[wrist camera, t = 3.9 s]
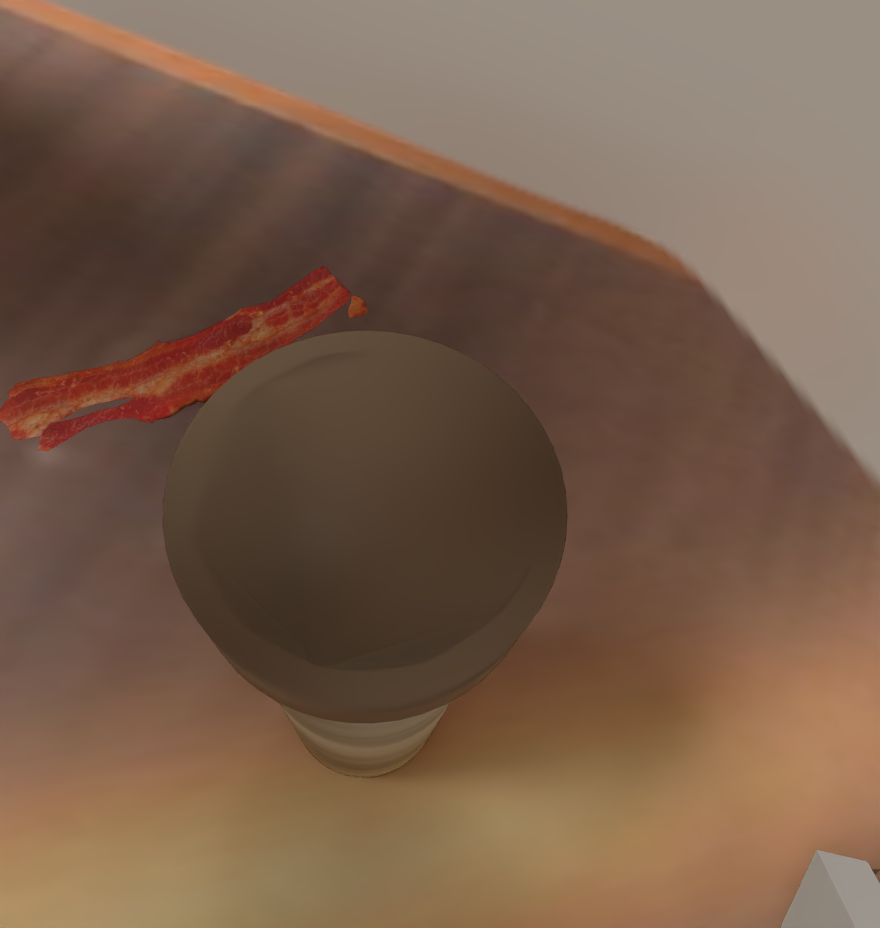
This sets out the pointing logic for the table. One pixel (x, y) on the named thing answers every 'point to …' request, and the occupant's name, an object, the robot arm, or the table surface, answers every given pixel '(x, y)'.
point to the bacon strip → (173, 366)
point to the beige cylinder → (364, 534)
